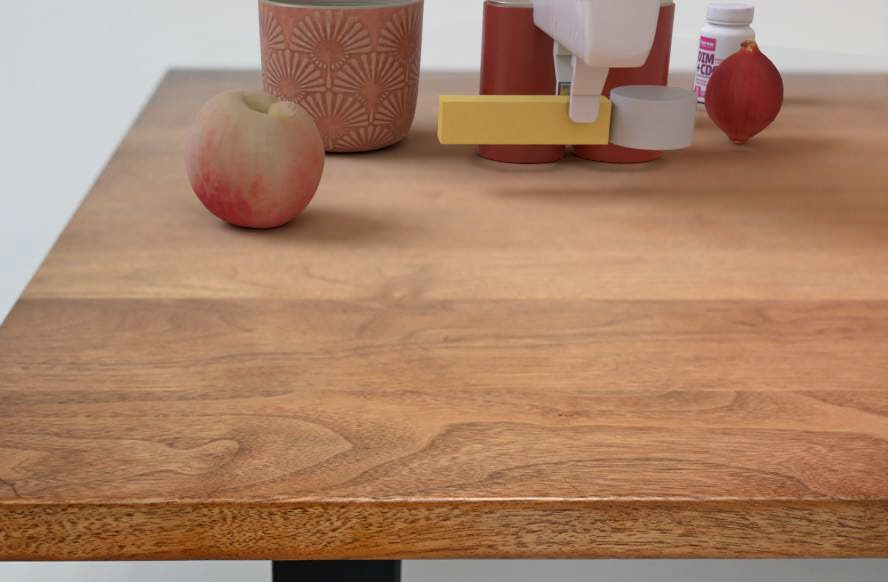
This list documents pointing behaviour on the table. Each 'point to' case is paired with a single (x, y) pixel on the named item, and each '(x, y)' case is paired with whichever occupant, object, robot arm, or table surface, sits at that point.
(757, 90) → the onion
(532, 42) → the cans
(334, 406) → the table surface
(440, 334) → the table surface
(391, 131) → the planter
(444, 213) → the table surface
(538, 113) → the white cylinder yellow bar
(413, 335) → the table surface
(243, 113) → the fruit
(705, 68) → the pill bottle
